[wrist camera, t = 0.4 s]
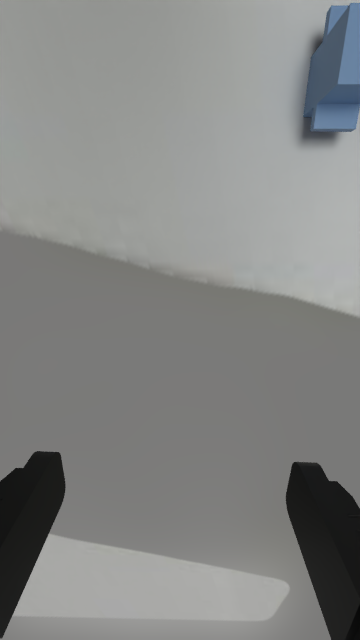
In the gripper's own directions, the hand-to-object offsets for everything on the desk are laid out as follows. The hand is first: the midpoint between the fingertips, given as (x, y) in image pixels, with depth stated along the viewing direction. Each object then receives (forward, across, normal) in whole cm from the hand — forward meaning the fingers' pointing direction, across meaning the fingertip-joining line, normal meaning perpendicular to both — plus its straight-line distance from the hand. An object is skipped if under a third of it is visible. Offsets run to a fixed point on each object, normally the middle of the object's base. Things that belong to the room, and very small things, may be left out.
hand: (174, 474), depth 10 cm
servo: (+28, -14, -21) cm, 38 cm away
